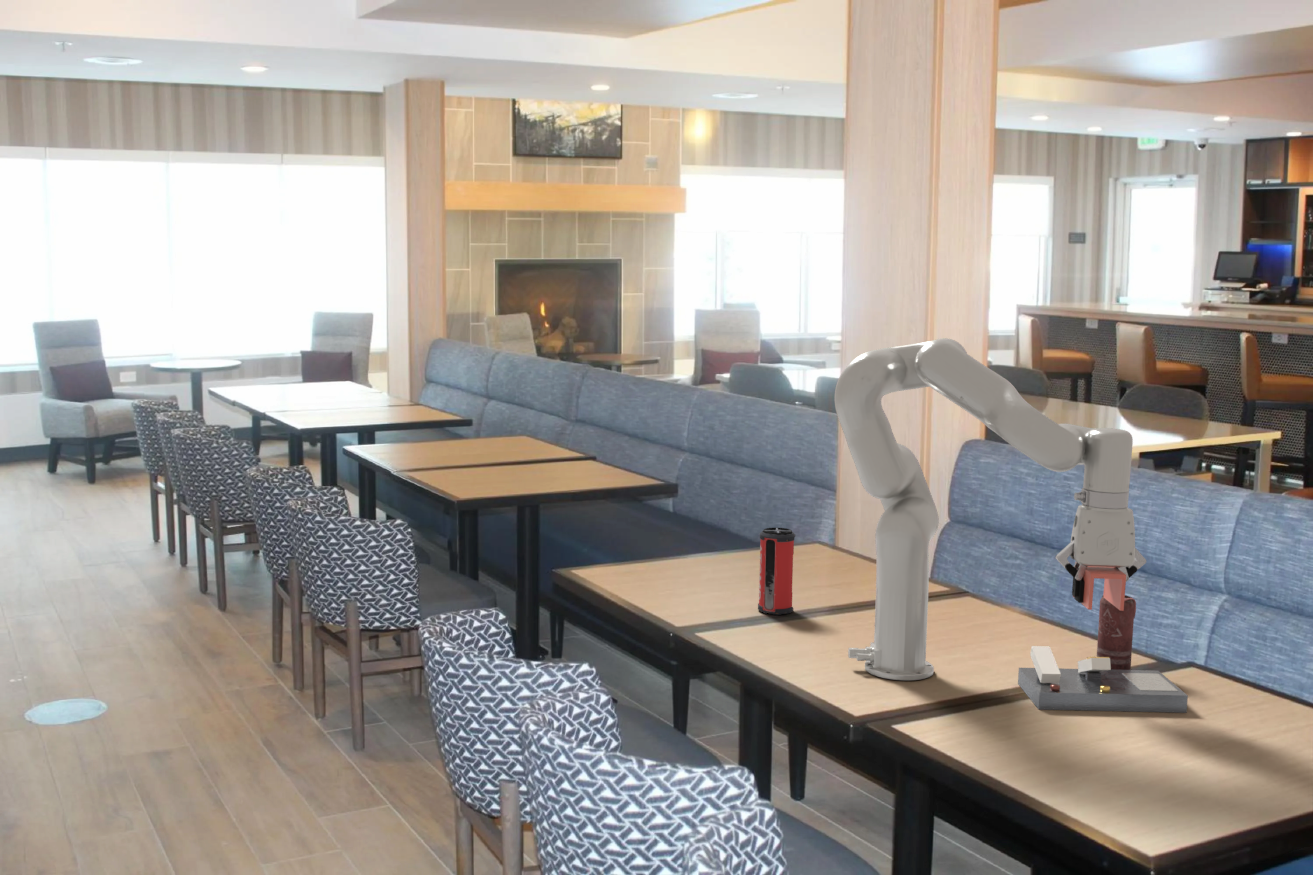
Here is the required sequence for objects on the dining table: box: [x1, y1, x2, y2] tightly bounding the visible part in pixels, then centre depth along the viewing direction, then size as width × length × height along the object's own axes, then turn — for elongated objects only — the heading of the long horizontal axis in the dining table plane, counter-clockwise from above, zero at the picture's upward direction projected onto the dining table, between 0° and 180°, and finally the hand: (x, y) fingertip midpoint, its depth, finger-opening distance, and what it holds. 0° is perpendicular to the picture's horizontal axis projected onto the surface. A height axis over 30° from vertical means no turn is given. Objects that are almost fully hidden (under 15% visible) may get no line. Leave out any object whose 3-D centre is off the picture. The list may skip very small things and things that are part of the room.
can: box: [1096, 594, 1137, 670], centre depth 244 cm, size 6×6×14 cm
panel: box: [1017, 667, 1189, 714], centre depth 228 cm, size 25×14×4 cm, turn 89°
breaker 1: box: [1029, 645, 1061, 683], centre depth 228 cm, size 3×8×2 cm, turn 179°
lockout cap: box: [1074, 561, 1127, 611], centre depth 226 cm, size 6×9×6 cm, turn 179°
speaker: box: [757, 527, 796, 616], centre depth 282 cm, size 8×8×18 cm
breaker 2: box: [1077, 656, 1111, 673], centre depth 228 cm, size 3×8×2 cm, turn 179°
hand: (1097, 600), depth 227 cm, fingers closed on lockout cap, 6 cm apart
